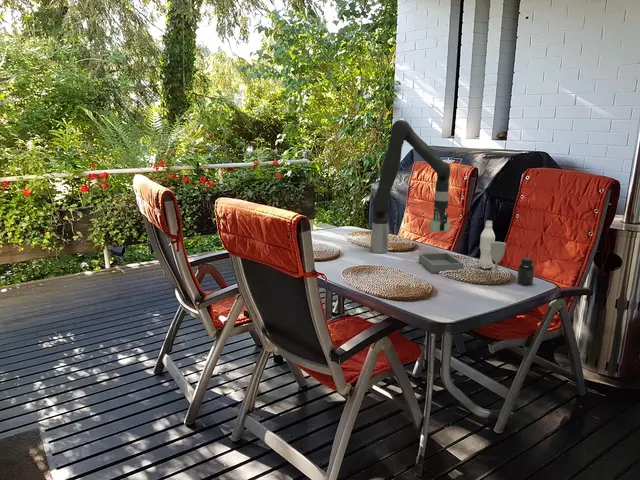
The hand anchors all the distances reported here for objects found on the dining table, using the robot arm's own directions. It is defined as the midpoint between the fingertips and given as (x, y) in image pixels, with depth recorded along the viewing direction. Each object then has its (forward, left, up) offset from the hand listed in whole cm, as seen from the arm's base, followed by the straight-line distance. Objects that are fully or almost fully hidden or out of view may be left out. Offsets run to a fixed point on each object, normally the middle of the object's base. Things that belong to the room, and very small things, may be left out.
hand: (439, 229), depth 270 cm
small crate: (0, 0, -1) cm, 1 cm away
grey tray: (-7, -19, -15) cm, 26 cm away
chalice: (+12, -43, -16) cm, 47 cm away
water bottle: (+15, -25, -16) cm, 34 cm away
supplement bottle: (+22, -50, -16) cm, 57 cm away
